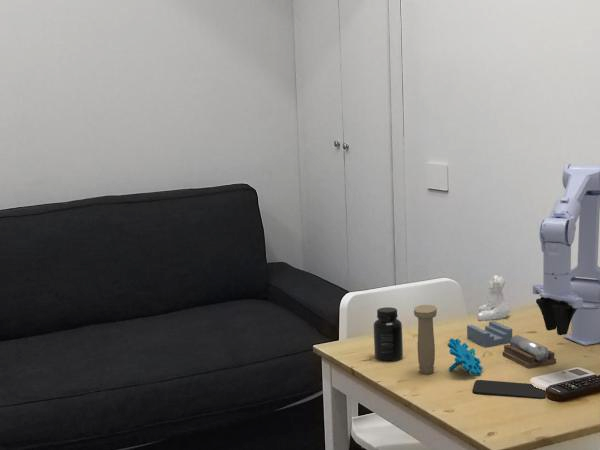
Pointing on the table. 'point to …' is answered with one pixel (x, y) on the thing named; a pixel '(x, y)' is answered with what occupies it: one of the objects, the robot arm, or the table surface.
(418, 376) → the table surface
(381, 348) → the supplement bottle
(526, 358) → the brown channel tray
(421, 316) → the handle
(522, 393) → the phone
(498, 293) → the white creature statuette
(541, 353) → the axle
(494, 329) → the v block
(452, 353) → the gear
